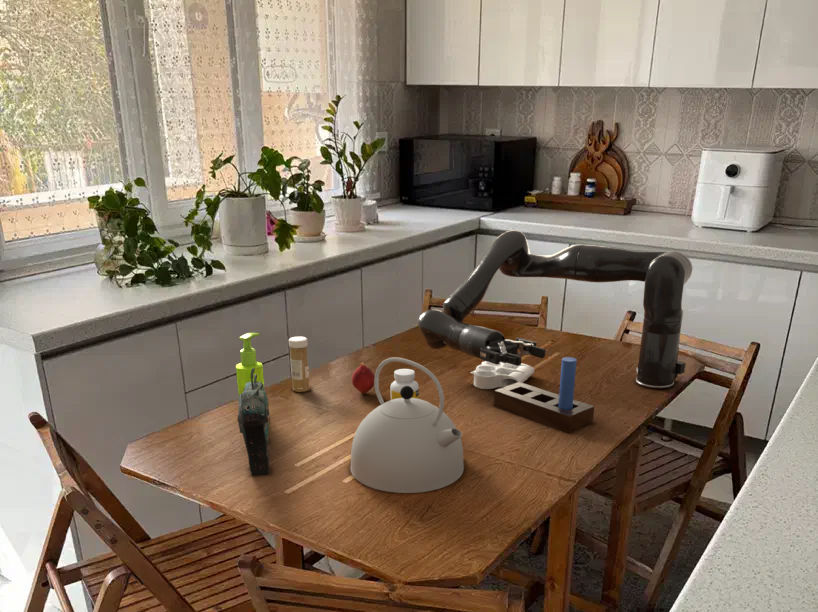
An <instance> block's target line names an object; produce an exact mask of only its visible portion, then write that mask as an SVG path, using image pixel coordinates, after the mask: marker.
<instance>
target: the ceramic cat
mask: <svg viewBox="0 0 818 612" xmlns="http://www.w3.org/2000/svg"><path fill="white" fill-rule="evenodd" d="M254 370H255V368H252V369H251V382H247V383H246V385H245V388H244V391H243V392H242V394H239V393H238V410H237V411H238V412H237V422H238V428H239V433H240V434H242V437H243V441H244V445H245V448H246V453H247V459H248V466H249V472H250V475H251V476H263V475H269V474H270V446H269V428H270V427H269V421H270V420H271V417H270V408H269V407H270V406H269V398H268V395H267V392H266V389H265V383H264V384H263V383H262V382H256V380H257V375H256V374H255V375H254V382H253V372H254ZM263 385H264V386H263Z"/></svg>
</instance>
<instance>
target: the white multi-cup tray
mask: <svg viewBox="0 0 818 612" xmlns="http://www.w3.org/2000/svg"><path fill="white" fill-rule="evenodd" d="M535 372H536V371H535V368H534V367H533V366H532V365H530V364H526V363H522V362H521V365H519V366H516V365H513V364H509V363H502V362H500V364H493V363H491V362H488V361H485V360H483V361H482V362H481V364H479V365H476V368H475V370H472V371H470V374H472V375H473V386H474V387H475V388H477V389H481V390H495V389H498V388H503V387H506V386H509V385H512V384H515V383H518V382H521V383H524V382H525V381H527V380H528V379H529V378H530V377H532V376H533V375H534V374H535Z"/></svg>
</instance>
